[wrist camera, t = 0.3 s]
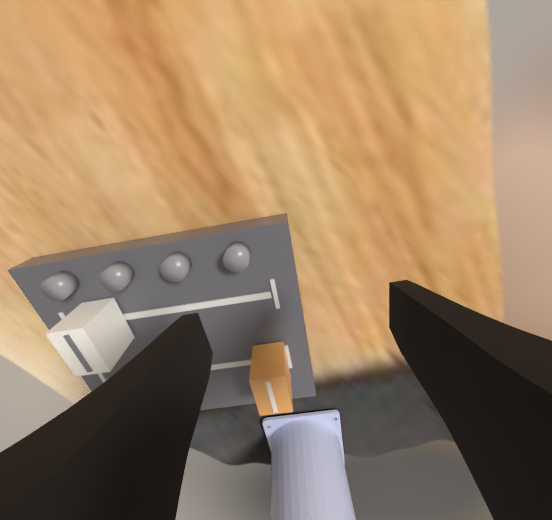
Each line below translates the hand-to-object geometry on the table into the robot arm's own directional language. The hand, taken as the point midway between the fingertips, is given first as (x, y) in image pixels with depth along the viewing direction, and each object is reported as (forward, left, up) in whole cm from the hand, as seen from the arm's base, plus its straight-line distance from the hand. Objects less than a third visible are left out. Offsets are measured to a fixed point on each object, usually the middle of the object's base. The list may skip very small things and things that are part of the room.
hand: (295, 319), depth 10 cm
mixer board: (-6, +9, -10) cm, 15 cm away
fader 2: (-9, +3, -7) cm, 12 cm away
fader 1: (-3, +14, -7) cm, 16 cm away
